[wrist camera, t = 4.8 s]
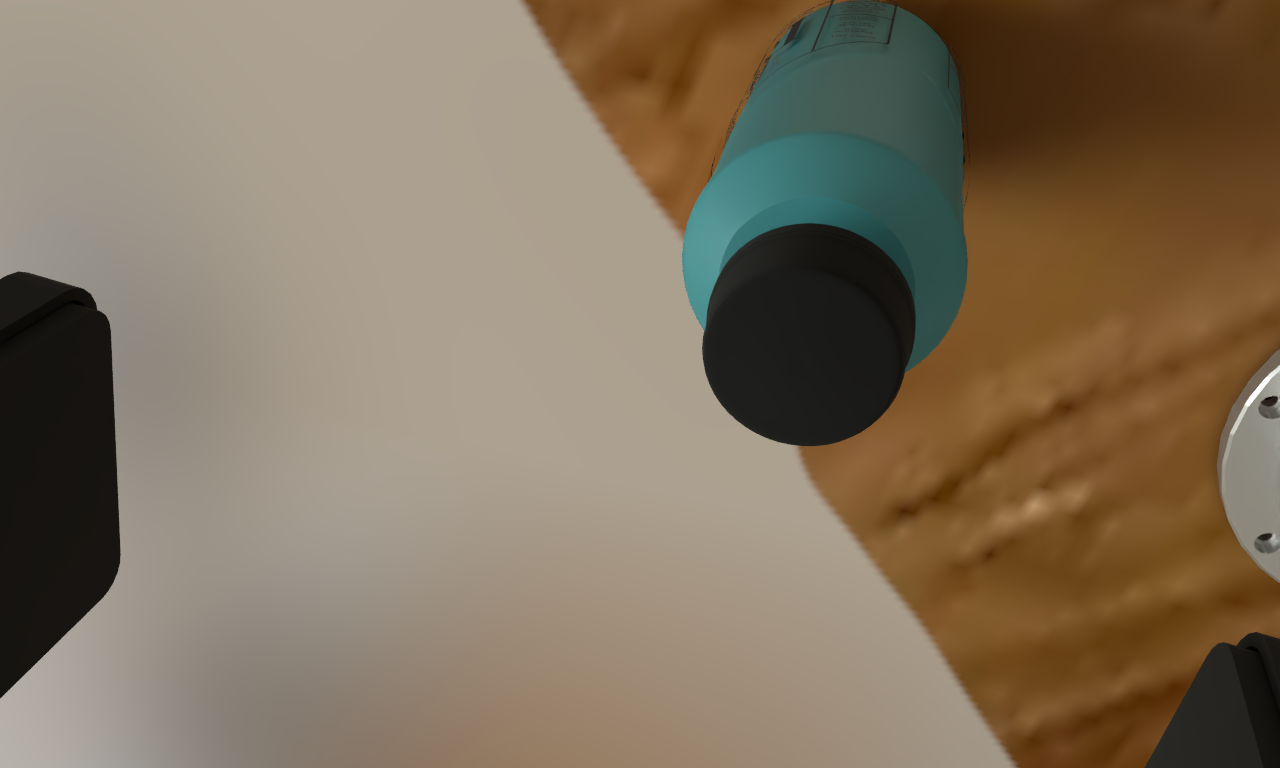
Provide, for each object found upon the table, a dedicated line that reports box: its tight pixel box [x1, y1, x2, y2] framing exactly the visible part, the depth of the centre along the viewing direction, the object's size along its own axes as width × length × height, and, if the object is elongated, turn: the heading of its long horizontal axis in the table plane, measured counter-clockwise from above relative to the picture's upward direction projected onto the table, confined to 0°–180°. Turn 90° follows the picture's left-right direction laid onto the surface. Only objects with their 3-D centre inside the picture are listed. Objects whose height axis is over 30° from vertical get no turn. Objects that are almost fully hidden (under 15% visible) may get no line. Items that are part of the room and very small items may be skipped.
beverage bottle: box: [682, 0, 970, 446], centre depth 31 cm, size 6×7×20 cm
